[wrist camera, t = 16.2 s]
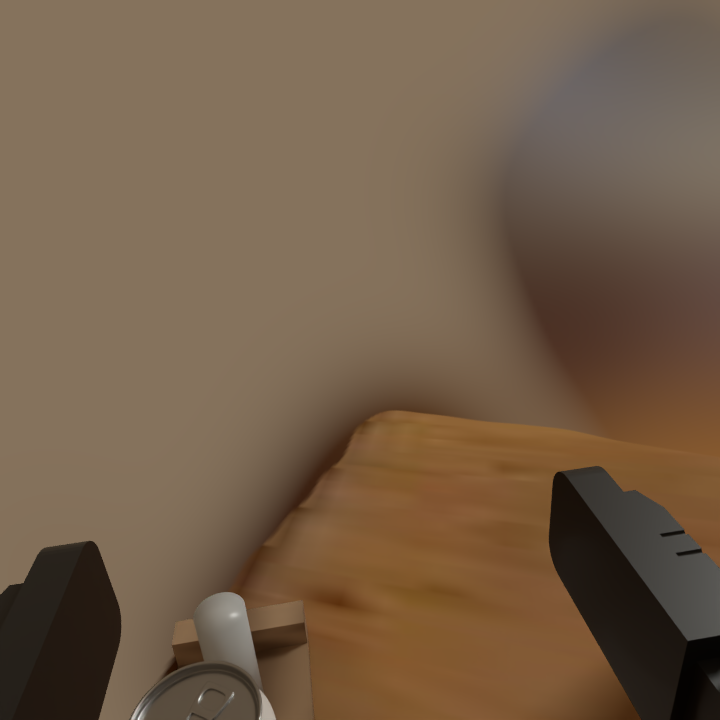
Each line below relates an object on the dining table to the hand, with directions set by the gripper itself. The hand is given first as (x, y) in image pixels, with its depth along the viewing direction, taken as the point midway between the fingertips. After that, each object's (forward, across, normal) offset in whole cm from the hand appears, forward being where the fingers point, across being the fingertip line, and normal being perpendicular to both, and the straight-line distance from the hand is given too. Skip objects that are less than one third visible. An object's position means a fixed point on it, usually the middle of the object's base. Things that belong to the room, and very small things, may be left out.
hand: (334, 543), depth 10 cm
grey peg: (+18, +7, +28) cm, 34 cm away
